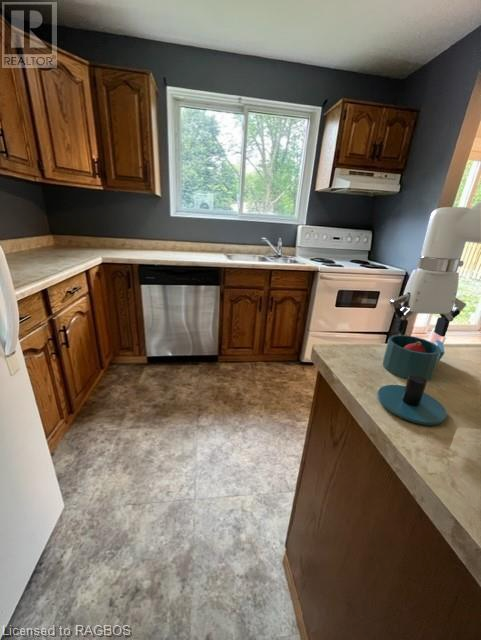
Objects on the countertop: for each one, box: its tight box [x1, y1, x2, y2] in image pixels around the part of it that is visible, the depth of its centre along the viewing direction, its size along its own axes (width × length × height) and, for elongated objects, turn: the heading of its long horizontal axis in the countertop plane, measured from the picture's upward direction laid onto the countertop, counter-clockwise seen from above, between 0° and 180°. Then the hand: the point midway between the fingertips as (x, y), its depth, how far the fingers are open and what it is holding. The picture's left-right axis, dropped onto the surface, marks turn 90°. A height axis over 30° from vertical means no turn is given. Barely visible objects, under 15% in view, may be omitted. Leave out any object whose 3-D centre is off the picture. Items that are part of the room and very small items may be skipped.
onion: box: [404, 342, 426, 353], centre depth 70 cm, size 6×6×8 cm
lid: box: [376, 375, 447, 426], centre depth 56 cm, size 12×12×7 cm
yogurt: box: [434, 339, 445, 364], centre depth 74 cm, size 12×2×6 cm, turn 145°
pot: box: [382, 334, 441, 382], centre depth 70 cm, size 11×11×8 cm
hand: (419, 333), depth 68 cm, fingers open, 9 cm apart
